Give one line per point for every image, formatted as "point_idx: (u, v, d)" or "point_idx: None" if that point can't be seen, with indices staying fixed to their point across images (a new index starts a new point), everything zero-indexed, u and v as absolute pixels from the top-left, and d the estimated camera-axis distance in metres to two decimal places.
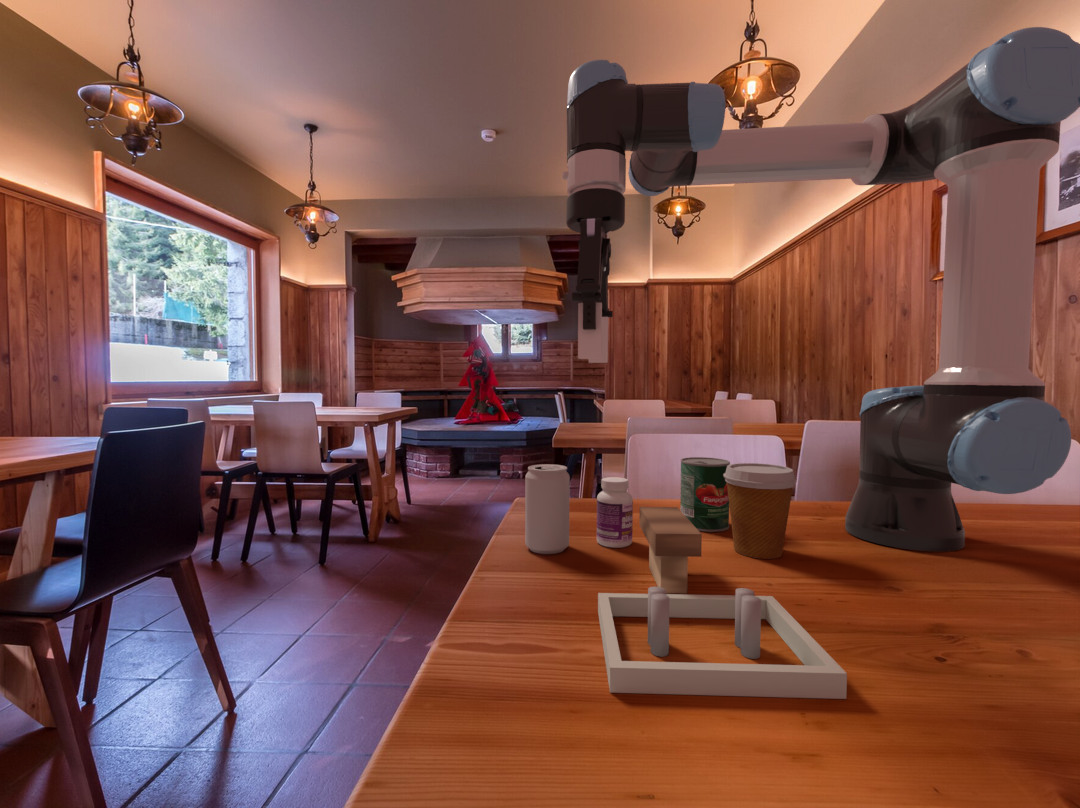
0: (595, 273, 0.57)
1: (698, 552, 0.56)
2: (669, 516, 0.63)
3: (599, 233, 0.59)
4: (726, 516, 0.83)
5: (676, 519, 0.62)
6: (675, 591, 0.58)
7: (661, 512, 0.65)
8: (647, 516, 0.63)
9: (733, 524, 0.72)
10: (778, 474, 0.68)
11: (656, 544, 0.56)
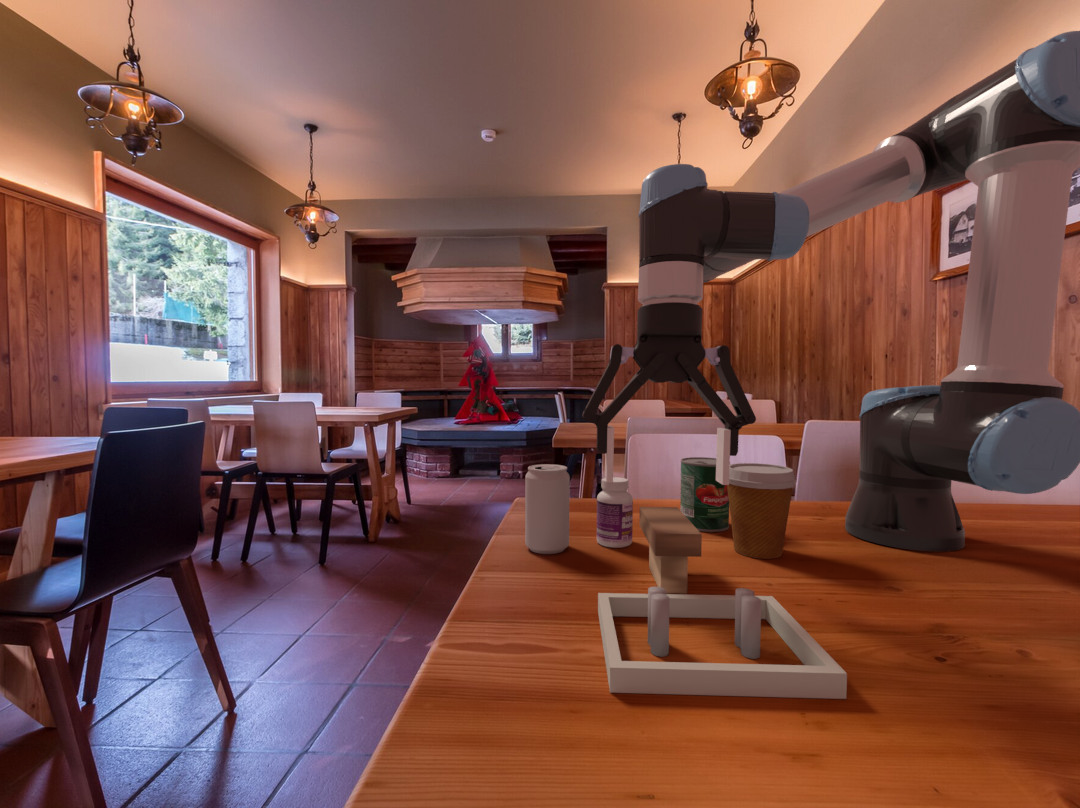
0: (589, 403, 0.61)
1: (698, 552, 0.56)
2: (669, 516, 0.63)
3: (610, 360, 0.60)
4: (726, 516, 0.83)
5: (676, 519, 0.62)
6: (675, 591, 0.58)
7: (661, 512, 0.65)
8: (647, 516, 0.63)
9: (733, 524, 0.72)
10: (778, 474, 0.68)
11: (656, 544, 0.56)
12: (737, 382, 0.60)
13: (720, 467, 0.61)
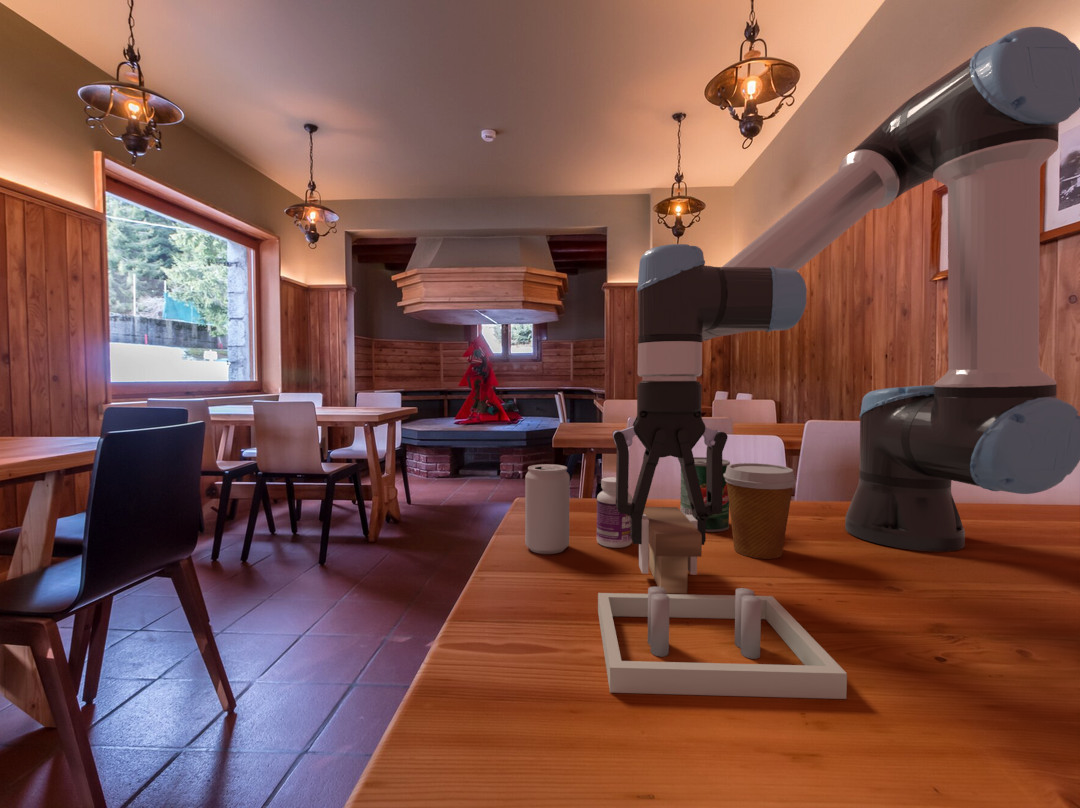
0: (617, 495, 0.61)
1: (698, 552, 0.56)
2: (669, 516, 0.63)
3: (618, 449, 0.61)
4: (726, 516, 0.83)
5: (676, 519, 0.62)
6: (675, 591, 0.58)
7: (661, 512, 0.65)
8: (647, 516, 0.63)
9: (733, 524, 0.72)
10: (778, 474, 0.68)
11: (656, 544, 0.56)
12: (720, 471, 0.60)
13: None
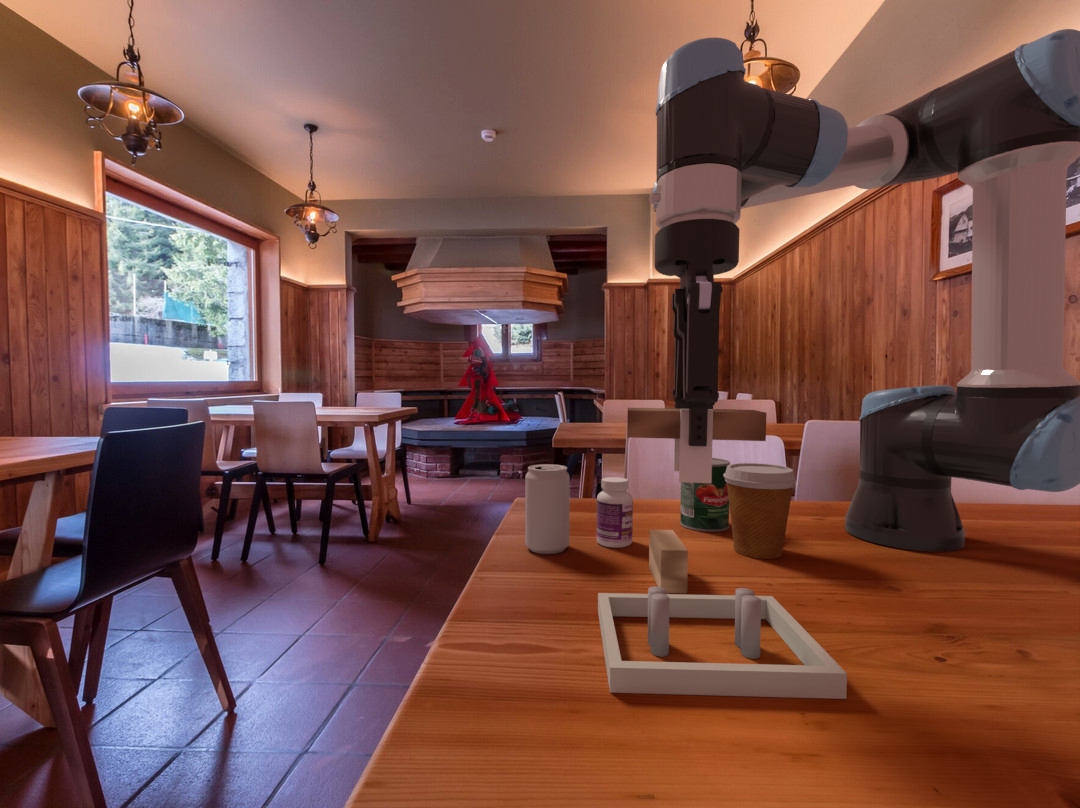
0: (712, 377, 0.42)
1: None
2: None
3: (717, 308, 0.42)
4: (726, 516, 0.83)
5: None
6: (675, 591, 0.58)
7: (658, 409, 0.49)
8: None
9: (733, 524, 0.72)
10: (778, 474, 0.68)
11: (765, 426, 0.45)
12: None
13: None
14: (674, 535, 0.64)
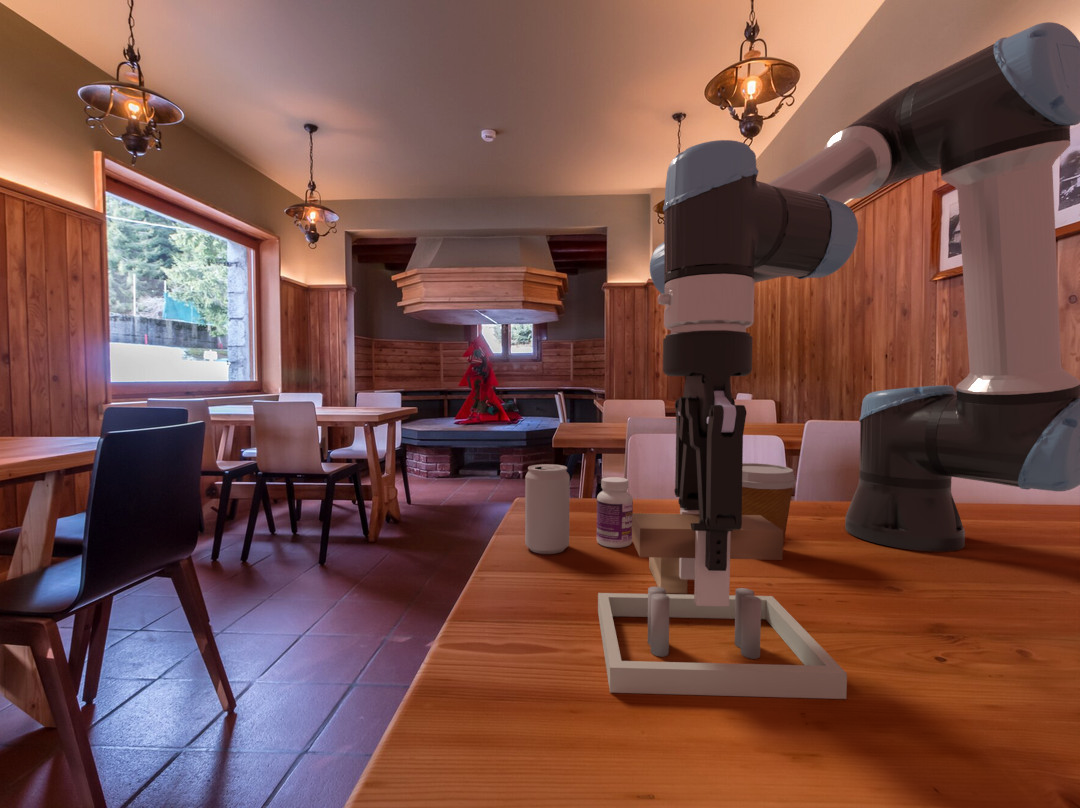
0: (736, 505, 0.40)
1: None
2: (689, 519, 0.46)
3: (740, 432, 0.39)
4: None
5: None
6: (675, 591, 0.58)
7: (668, 521, 0.46)
8: None
9: None
10: (778, 474, 0.68)
11: (782, 544, 0.43)
12: None
13: None
14: None
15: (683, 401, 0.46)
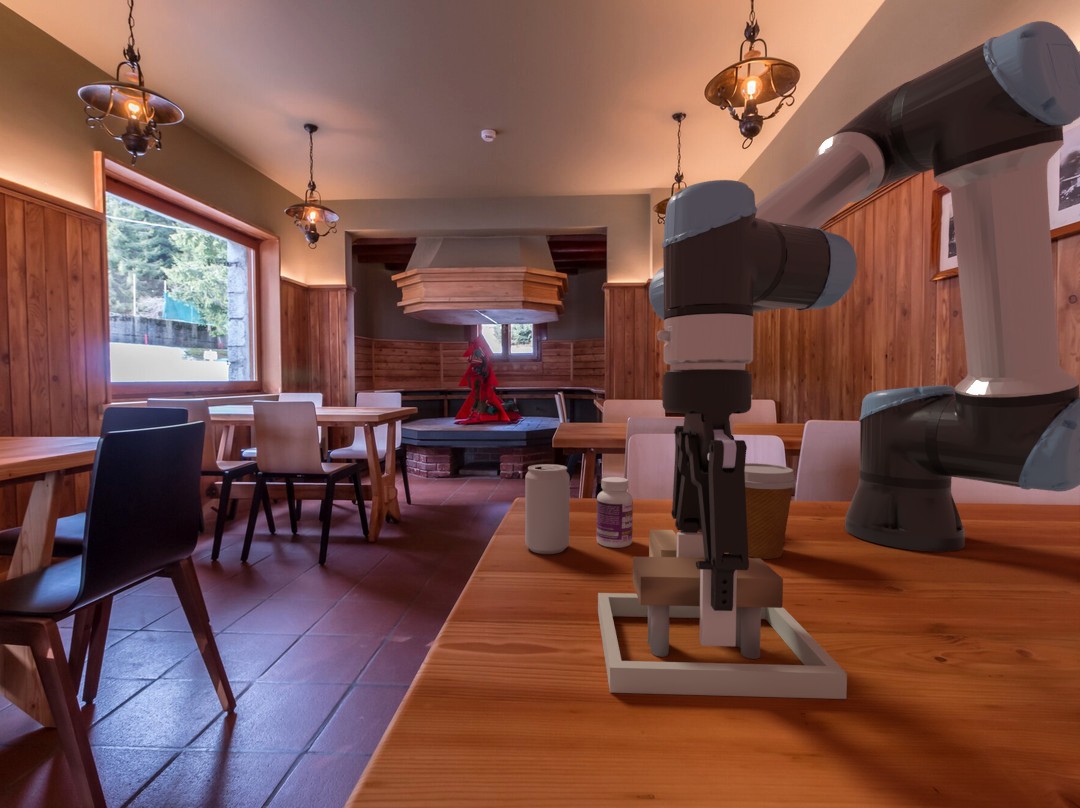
0: (742, 543, 0.38)
1: None
2: (690, 565, 0.47)
3: (742, 468, 0.39)
4: None
5: None
6: None
7: (668, 567, 0.46)
8: (697, 576, 0.44)
9: None
10: (778, 474, 0.68)
11: (781, 592, 0.43)
12: None
13: None
14: (674, 535, 0.64)
15: (683, 437, 0.46)
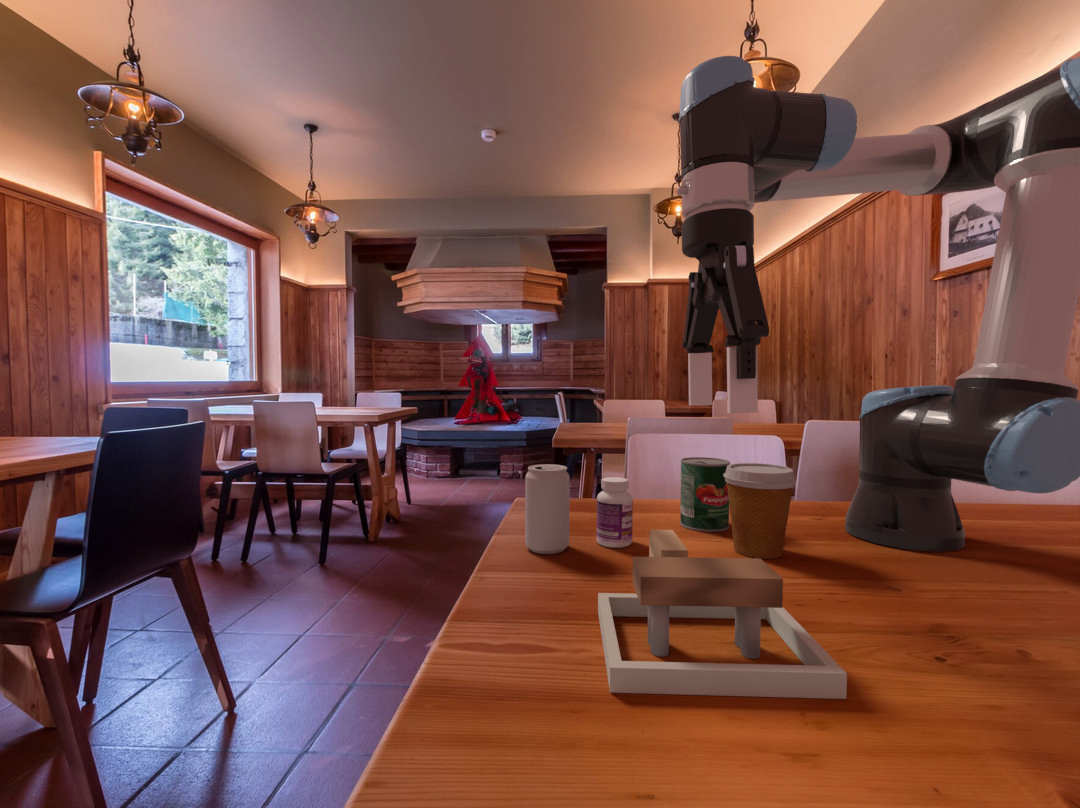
0: (761, 313, 0.47)
1: None
2: (690, 565, 0.47)
3: (752, 263, 0.49)
4: (726, 516, 0.83)
5: (701, 563, 0.47)
6: None
7: (668, 567, 0.46)
8: (697, 576, 0.44)
9: (733, 524, 0.72)
10: (778, 474, 0.68)
11: (781, 592, 0.43)
12: None
13: (704, 390, 0.64)
14: (674, 535, 0.64)
15: (699, 277, 0.57)
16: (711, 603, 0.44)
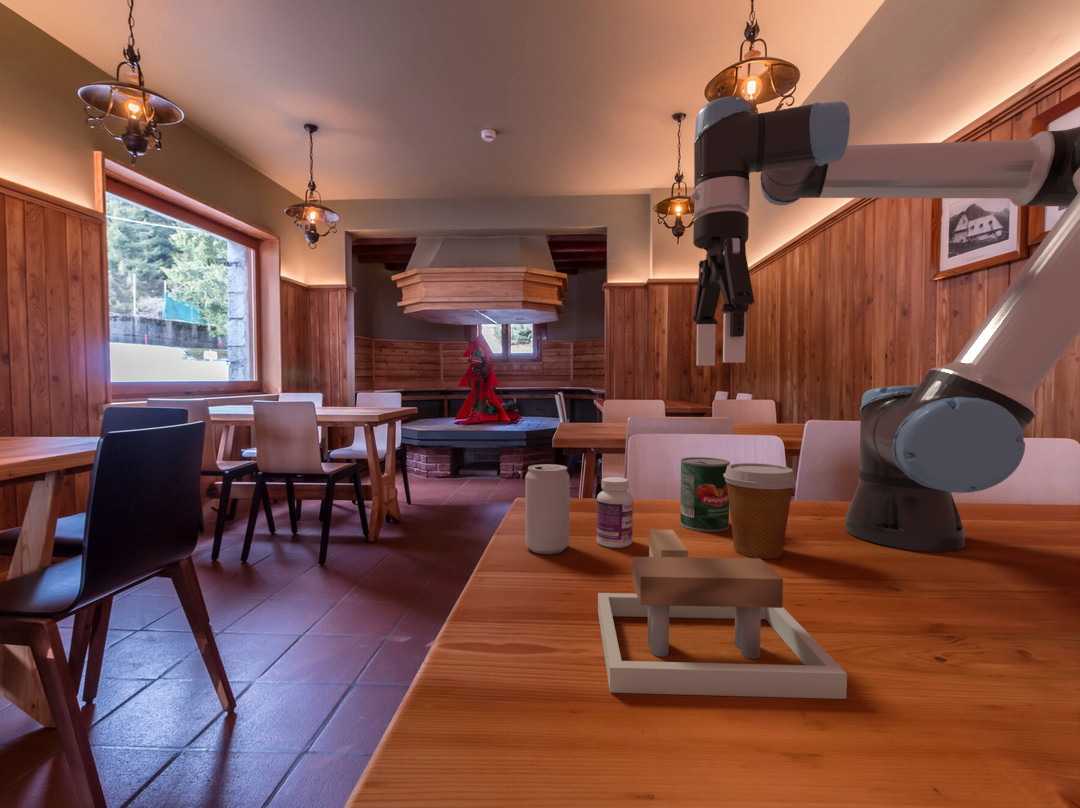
0: (748, 287, 0.65)
1: None
2: (690, 565, 0.47)
3: (744, 251, 0.67)
4: (726, 516, 0.83)
5: (701, 563, 0.47)
6: None
7: (668, 567, 0.46)
8: (697, 576, 0.44)
9: (733, 524, 0.72)
10: (778, 474, 0.68)
11: (781, 592, 0.43)
12: None
13: (709, 353, 0.81)
14: (674, 535, 0.64)
15: (706, 263, 0.75)
16: (711, 603, 0.44)
